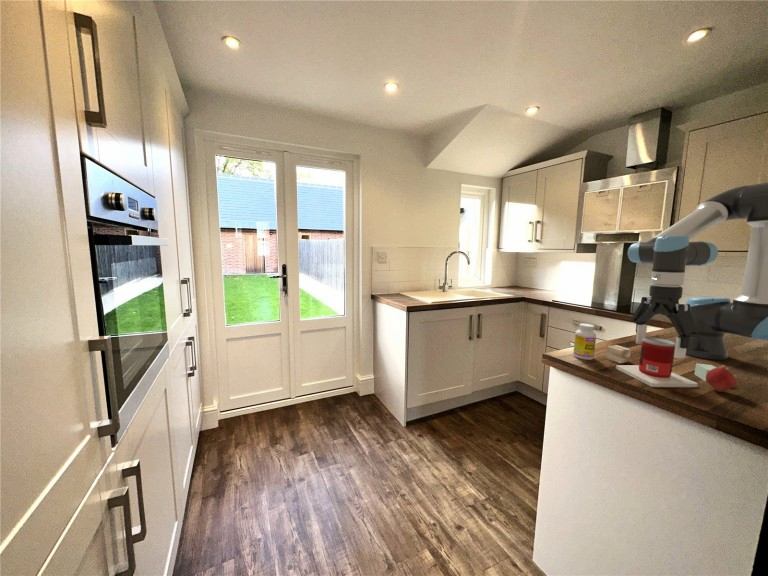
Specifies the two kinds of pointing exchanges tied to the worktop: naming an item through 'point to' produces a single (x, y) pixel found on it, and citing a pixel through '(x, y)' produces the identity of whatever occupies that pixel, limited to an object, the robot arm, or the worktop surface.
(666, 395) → the worktop surface
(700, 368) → the sage block
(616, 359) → the beech block
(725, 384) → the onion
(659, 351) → the canned food
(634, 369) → the tray
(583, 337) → the supplement bottle
